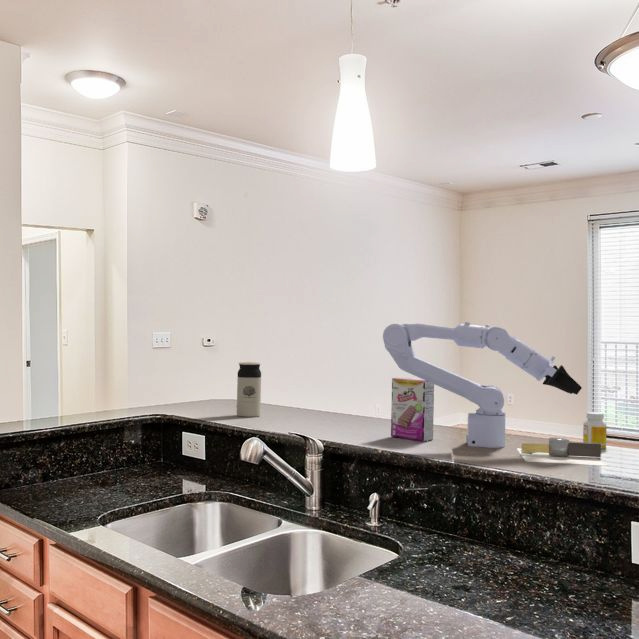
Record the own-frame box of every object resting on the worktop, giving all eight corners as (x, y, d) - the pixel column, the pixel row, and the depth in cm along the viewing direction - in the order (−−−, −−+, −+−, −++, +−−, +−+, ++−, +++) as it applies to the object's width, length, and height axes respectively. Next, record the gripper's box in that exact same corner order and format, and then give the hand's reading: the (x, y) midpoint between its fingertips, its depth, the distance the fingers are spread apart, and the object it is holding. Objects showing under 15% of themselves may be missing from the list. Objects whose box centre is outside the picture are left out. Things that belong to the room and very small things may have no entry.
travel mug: (240, 414, 223) (241, 361, 223) (262, 414, 222) (263, 362, 222) (233, 416, 215) (235, 362, 216) (257, 417, 214) (258, 363, 214)
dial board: (525, 465, 142) (525, 459, 142) (516, 452, 159) (516, 447, 159) (607, 470, 139) (607, 464, 139) (589, 456, 156) (589, 450, 156)
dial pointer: (523, 454, 149) (523, 438, 149) (520, 451, 153) (520, 435, 153) (602, 458, 145) (602, 442, 146) (597, 455, 150) (597, 439, 150)
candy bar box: (389, 437, 179) (390, 377, 179) (400, 435, 183) (401, 377, 183) (423, 442, 171) (424, 380, 172) (434, 440, 175) (435, 379, 175)
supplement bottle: (579, 450, 163) (579, 412, 164) (589, 448, 167) (590, 411, 167) (599, 453, 159) (600, 414, 159) (610, 451, 163) (610, 413, 163)
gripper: (540, 344, 154) (591, 377, 151) (533, 347, 168) (580, 377, 165) (523, 368, 154) (574, 402, 151) (518, 369, 168) (564, 400, 165)
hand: (576, 390), depth 158 cm, fingers open, 7 cm apart
